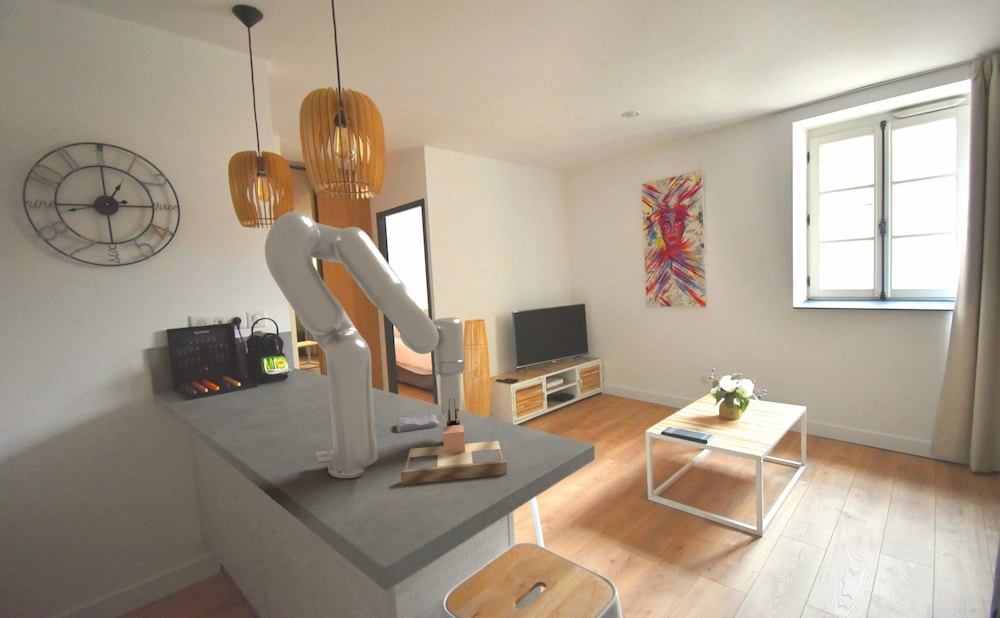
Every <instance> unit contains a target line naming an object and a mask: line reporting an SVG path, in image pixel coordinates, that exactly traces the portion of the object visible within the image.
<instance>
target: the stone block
mask: <svg viewBox="0 0 1000 618" xmlns="http://www.w3.org/2000/svg"><path fill="white" fill-rule="evenodd" d="M438 427H440V422H439V420H438V419H437V416H436V415H435V414H431V413H429V414H422V415H419V416H416V417H398V419H397V423H396V432H397V433H402V432H403V433H404V432H410V431H418V430H419V431H420V430H424V429H433V428H438Z"/></svg>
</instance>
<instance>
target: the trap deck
mask: <svg viewBox="0 0 1000 618" xmlns="http://www.w3.org/2000/svg"><path fill="white" fill-rule="evenodd" d="M492 450H493V451H494V450H498V453H499V456H500V460H493V461H484V462H483V461H482V462H481V461H480V462H473V455H472V454H473V452H482V451H492ZM429 456H437V460H436V461H437V462H436V466H433V467H432V466H431V467H430V466H429V467H419V468H411V469H408V468H409V464H410V461H411V458H418V457H429ZM507 474H508V461H507V459H504V457H503V453H502V449H501V446H500V442H499V440H494V441H492V440H491V441H482V442H471V443H470V442H469V443H465V452H461V453H450V454H444V445H437V446H429V447H416V448H410V449H409V451H408V456H407V460H406V464H405V469H401V471H400V481H401V485H407V484H417V483H427V482H438V481H447V480H448V481H450V480H459V479H468V478H477V477H478V478H479V477H488V476H490V477H491V476H499V475H507Z"/></svg>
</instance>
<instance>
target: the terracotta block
mask: <svg viewBox="0 0 1000 618" xmlns="http://www.w3.org/2000/svg"><path fill="white" fill-rule="evenodd" d="M442 427H443V428H442V438H443V439H442V442H443V443H442V444H443V446H444V454H450V453H461V452H465V444H466V443H465V442H466V441H465V440H466V439H465V428H464V424H460V425H452V426H447V425H443V426H442Z"/></svg>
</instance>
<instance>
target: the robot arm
mask: <svg viewBox="0 0 1000 618" xmlns="http://www.w3.org/2000/svg"><path fill="white" fill-rule="evenodd" d="M264 255H265V257H264V258H265V261H266V262H265V263H266V265H267V268H268V270H269V273H270V275H271V277H272V278H273V280H274V282H275V283H276V285H277V286H278V288H279V289H280V291H281V293H282V294H283V296H284V297H285V299H286V300H287V302H288V304H289V305H290V306H291V308H292V310H293V311H294V313H295V314H296V316H297V317H298V321H299V322H300V324H301V326H302V327H303V328H304V329H305V330H306V331H308V332H309V333H310V334H311V336H312V337H313V339H314V341H315V342H316V343H317V344H318V346H319V347H320V349H321V350H322V352H323V353H324V355H325V365H326V366H325V368H326V375H327V387H328V389H327V390H328V399H329V407H330V418H331V419H330V420H331V421H330V422H331V429H332V430H331V431H332V433H331V434H332V441H333V448H332V449H330V450H329V451H325V450H323V451H322V450H320V451H316V454H315V461H318V464H325V463H329V465H328V468H327V469H328V470H327V471H328V474H329V475H330V476H331V477H334V478H338V479H354V478H360V477H363V476H364V473H365V471H366V469H367V467H368V466H371V465H372V464H374V463H375V462H376V461H377V460H378V456H379V455H378V445H377V444H378V442H377V431H376V420H375V418H376V417H375V407H374V406H375V405H374V393H373V381H372V380H373V378H372V377H373V376H372V356H371V355H372V354H371V349H370V346H369V344H368V343H367V341H366V340H365V339H364V338H363V337H362V335H361V333H360V332H359V330H358V329H357V328H356V326H355V325H354V323H353V321H352V320H351V318H350V317H349V315H348V314H347V311H345V309H344V307H343V306H342V304H341V302H340V301H339V299H338V298H337V297H335V296H334V294H333V293H332V292H331V290H330V289H329V287H328V286H327V285H326V283H325V281H324V280H323V278H322V277H321V275H320V273H319V271H318V270H317V269H316V266H315V265H314V263H313V261H312V258H314V259H318V260H322V261H327V262H330V263H337V264H342V265H343V266H344V268H345V269H346V271H347V272H348V274H349V275H350V276H351V277H352V279H353V280H354V282H356V284H357V286H358V287H359V288H360V290H361V291H362V292H363V293H364V295H365V296H366V298H367V299H368V300H369V301H370V302H371V303H372V304H373V305H374V306H375V307H376V308H378V310H380V311H381V312H382V313H383V314H384V315H385V316H386V318H387V319H388V320H389V321H390V322H391V324H392V325H393V326H394V327H395V329H396V330H397V332H398V333H399V338H400V340H401V342H402V344H403V345H404V346H406V347H407V348H409V349H410V350H412V352H414V353H415V354H420V355H428V354H429V353H432V352H433V356H434V370H435V371H434V374H435V375H437V376H439V394H440V397H439V398H440V399H439V400H440V414H441V415H442V416H445V415H447V420H446V426H452V425H461V424H460V420H459V414H460V413H461V412H462V411H461V409H462V379H461V377H462V376H461V375H462V374H464V373H465V372H466V363H465V362H466V361H465V346H464V345H465V344H464V341H465V340H464V329H463V328H464V326H463V321H462V319H460V318H458V317H441V318H437V319H436V318H435V319H431V318H430V317H429V315H428V313H426V310H425V309H424V308H423V307H422V306H421V304H420V303H419V301H418V300H417V299H416V297H414V295H413V294H412V293H411V291H410V290H409V289H408V288H407V286H406V285H405V283H404V282H403V281H402V280H401V278H399V276H398V275H397V274H396V272H395V270H394V269H393V268H392V267H391V265H390V264H389V262H388V261H387V259H386V258H385V257H384V256H383V254H382V252H381V251H380V250H379V249H378V247H377V245H376V244H375V243H374V241H373V240H372V238H371V237H370V236H369V235H368V233H367V232H366V231H365V230H363V229H361V228H360V227H356V226H347V227H344V228H339V227H335V226H331V225H326V224H323V223H321V222H320V223H319V222H316V221H315V220H314V219H313V218H312V217H311V216H309V214H307V213H305V212H301V211H295V210H294V211H288V212H285V213H283V214H282V215H280V216H279V217H278V218H277V219H276V220H275V221H274V222H273V224H272V225H271V227H270V229H269V231H268V233H267V236H266V239H265V243H264Z"/></svg>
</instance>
